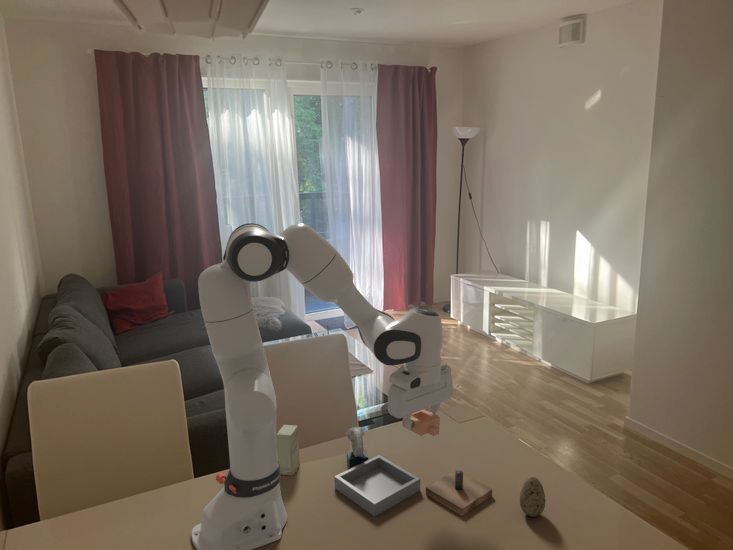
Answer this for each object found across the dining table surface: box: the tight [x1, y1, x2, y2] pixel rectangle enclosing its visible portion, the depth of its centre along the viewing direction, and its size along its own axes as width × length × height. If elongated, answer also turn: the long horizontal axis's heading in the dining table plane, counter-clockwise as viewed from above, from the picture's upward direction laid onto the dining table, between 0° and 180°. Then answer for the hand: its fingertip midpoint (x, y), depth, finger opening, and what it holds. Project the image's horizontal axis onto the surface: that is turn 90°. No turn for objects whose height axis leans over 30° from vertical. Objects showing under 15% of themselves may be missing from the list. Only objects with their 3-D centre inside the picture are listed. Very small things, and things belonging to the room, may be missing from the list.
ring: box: [401, 409, 441, 437], centre depth 136 cm, size 7×9×3 cm
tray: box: [334, 454, 421, 518], centre depth 142 cm, size 16×16×4 cm
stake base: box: [425, 469, 493, 517], centre depth 139 cm, size 12×12×6 cm
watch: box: [345, 426, 369, 470], centre depth 154 cm, size 6×8×11 cm
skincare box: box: [276, 424, 301, 476], centre depth 152 cm, size 6×4×12 cm
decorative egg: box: [519, 476, 546, 518], centre depth 131 cm, size 6×6×10 cm
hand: (420, 423), depth 137 cm, fingers closed on ring, 7 cm apart
